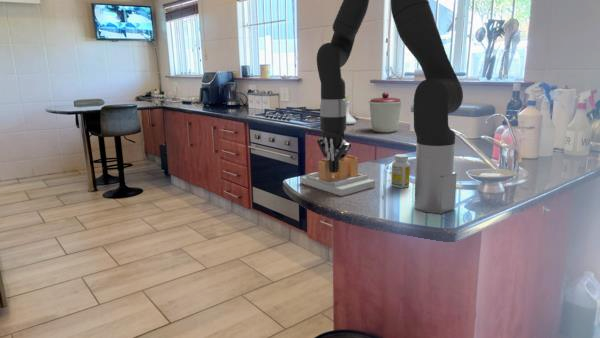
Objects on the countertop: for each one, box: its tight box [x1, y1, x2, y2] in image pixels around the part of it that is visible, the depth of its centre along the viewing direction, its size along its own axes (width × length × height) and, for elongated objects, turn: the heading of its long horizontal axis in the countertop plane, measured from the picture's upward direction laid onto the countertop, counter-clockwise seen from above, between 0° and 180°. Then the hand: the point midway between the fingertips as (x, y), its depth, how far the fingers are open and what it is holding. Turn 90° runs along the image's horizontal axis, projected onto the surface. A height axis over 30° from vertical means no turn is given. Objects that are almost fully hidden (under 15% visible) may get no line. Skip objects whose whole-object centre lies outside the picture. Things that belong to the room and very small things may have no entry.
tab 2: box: [334, 157, 347, 180], centre depth 134 cm, size 3×3×7 cm
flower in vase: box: [345, 95, 357, 126], centre depth 265 cm, size 13×11×25 cm
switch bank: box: [300, 171, 376, 197], centre depth 136 cm, size 19×14×3 cm
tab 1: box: [318, 158, 333, 181], centre depth 133 cm, size 3×3×7 cm
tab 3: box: [344, 154, 359, 177], centre depth 137 cm, size 3×3×7 cm
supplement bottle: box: [390, 153, 411, 189], centre depth 132 cm, size 5×5×10 cm
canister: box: [368, 92, 403, 134], centre depth 234 cm, size 18×18×21 cm
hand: (333, 172), depth 130 cm, fingers closed
